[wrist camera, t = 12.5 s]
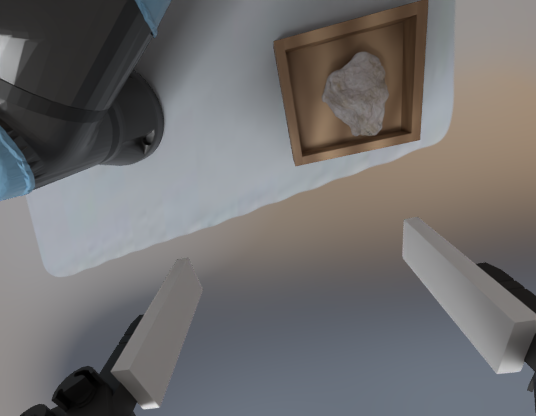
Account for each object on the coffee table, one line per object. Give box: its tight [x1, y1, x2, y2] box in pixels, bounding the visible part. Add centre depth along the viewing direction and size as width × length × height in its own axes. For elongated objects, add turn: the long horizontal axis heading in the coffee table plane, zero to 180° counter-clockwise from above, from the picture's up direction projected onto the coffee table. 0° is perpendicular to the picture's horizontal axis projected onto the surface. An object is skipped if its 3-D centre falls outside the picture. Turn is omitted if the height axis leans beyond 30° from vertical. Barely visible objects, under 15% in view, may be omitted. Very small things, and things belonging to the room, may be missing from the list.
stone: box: [322, 52, 389, 136], centre depth 31 cm, size 10×8×6 cm
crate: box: [274, 0, 428, 166], centre depth 32 cm, size 18×16×4 cm
